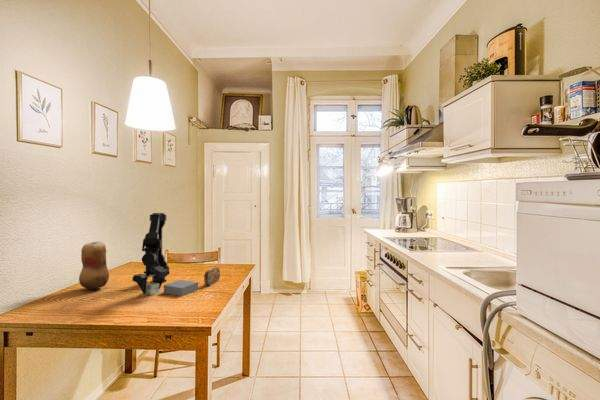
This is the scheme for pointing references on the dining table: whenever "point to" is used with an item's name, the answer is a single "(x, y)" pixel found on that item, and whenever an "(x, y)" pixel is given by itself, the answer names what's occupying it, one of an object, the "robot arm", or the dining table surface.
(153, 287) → the cube
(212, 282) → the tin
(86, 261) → the butternut squash
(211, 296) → the dining table surface
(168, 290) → the plinth
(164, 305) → the dining table surface
